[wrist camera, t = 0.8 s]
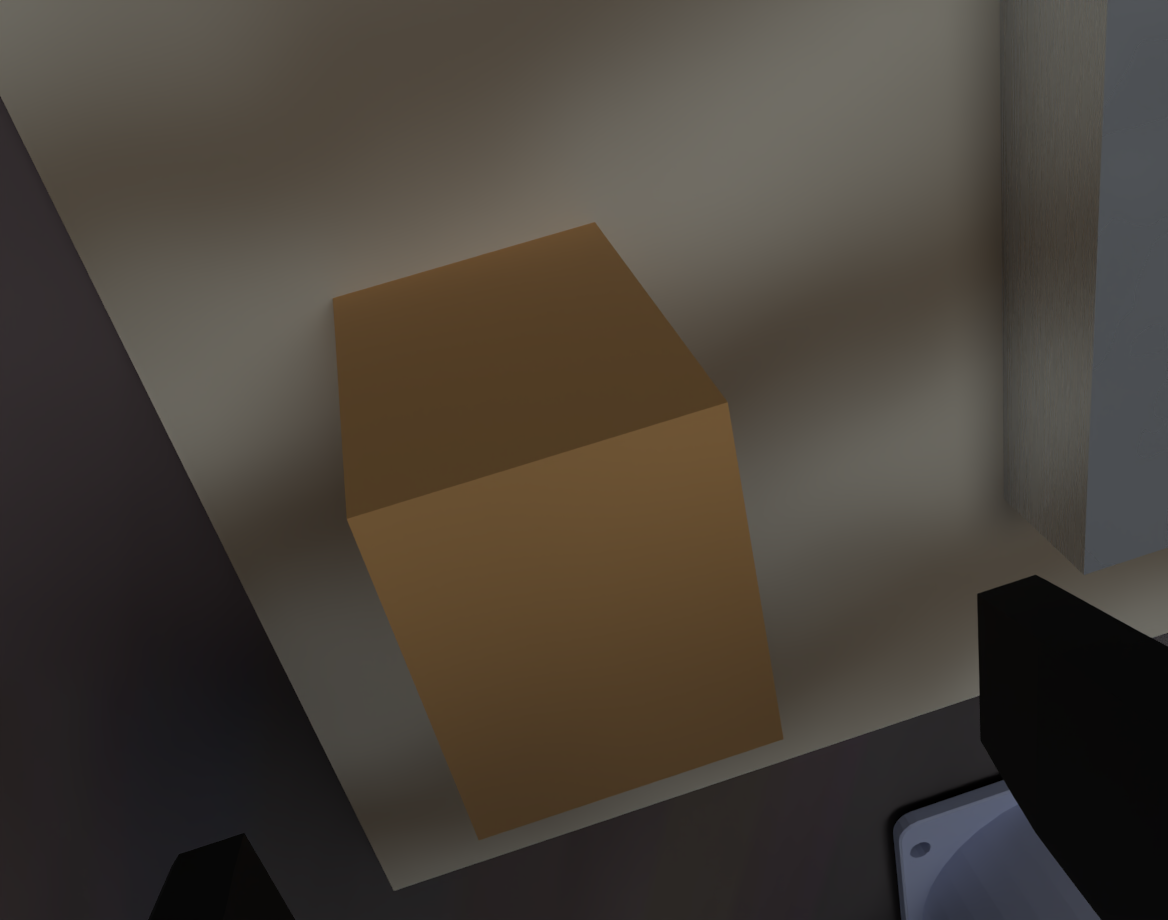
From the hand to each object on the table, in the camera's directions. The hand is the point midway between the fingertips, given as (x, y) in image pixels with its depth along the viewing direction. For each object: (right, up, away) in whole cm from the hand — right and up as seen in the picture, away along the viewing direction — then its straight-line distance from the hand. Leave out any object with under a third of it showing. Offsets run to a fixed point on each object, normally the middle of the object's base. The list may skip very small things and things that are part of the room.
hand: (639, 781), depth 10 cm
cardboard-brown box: (-2, +4, +7) cm, 8 cm away
